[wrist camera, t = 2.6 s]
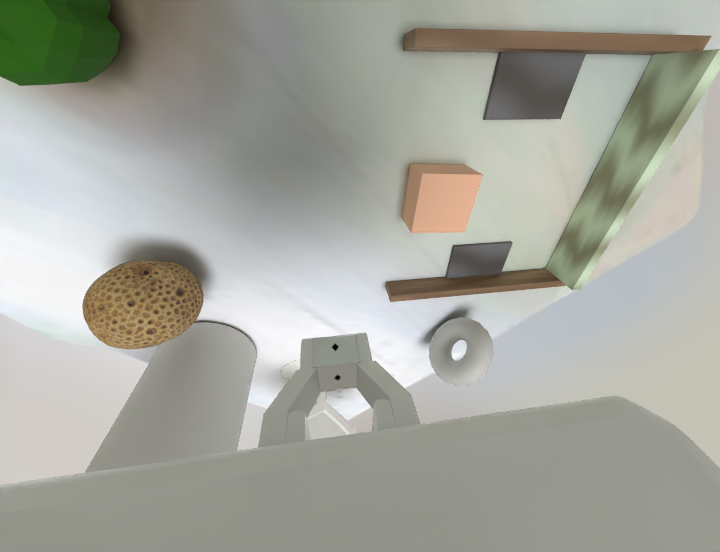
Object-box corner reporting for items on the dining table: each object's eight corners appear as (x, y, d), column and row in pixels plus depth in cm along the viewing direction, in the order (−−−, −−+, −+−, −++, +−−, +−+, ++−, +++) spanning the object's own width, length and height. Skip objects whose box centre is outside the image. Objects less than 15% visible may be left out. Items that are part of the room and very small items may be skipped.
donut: (430, 346, 46) (454, 402, 38) (416, 339, 44) (439, 396, 36) (475, 309, 42) (513, 363, 34) (462, 301, 40) (499, 355, 32)
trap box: (404, 34, 21) (425, 22, 17) (671, 40, 24) (743, 32, 20) (385, 287, 37) (394, 312, 33) (550, 273, 39) (576, 294, 35)
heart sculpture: (362, 379, 49) (382, 503, 34) (347, 393, 51) (360, 515, 37) (283, 357, 42) (267, 499, 28) (270, 374, 44) (249, 514, 30)
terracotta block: (409, 162, 27) (422, 173, 24) (463, 164, 28) (482, 174, 25) (401, 217, 31) (411, 232, 28) (449, 217, 32) (464, 232, 29)
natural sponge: (166, 222, 27) (104, 280, 19) (232, 278, 32) (205, 342, 24) (108, 265, 29) (29, 333, 21) (179, 312, 34) (137, 381, 26)
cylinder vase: (263, 326, 38) (204, 601, 18) (252, 377, 44) (200, 622, 24) (161, 312, 34) (-60, 643, 14) (165, 371, 40) (19, 654, 20)
